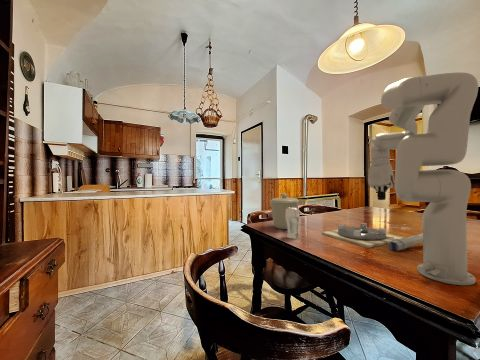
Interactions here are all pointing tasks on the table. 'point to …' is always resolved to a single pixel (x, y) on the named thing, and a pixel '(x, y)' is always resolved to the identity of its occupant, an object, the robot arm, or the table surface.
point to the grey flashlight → (405, 242)
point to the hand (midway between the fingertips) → (381, 199)
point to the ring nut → (362, 232)
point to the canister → (282, 209)
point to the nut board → (363, 243)
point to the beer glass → (292, 222)
